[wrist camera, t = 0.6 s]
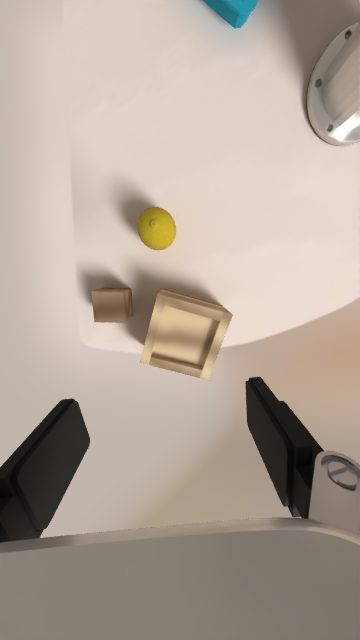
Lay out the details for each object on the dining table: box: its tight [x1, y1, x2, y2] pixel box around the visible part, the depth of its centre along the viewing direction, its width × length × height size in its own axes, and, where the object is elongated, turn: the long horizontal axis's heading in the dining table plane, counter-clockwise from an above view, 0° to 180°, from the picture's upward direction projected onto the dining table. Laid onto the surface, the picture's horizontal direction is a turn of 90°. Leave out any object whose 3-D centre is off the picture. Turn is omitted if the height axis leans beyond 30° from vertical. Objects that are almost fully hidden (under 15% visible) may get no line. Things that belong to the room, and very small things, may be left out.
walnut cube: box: [91, 288, 133, 323], centre depth 32 cm, size 5×5×5 cm
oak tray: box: [140, 289, 233, 380], centre depth 32 cm, size 12×12×6 cm
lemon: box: [138, 207, 176, 250], centre depth 27 cm, size 6×6×8 cm
